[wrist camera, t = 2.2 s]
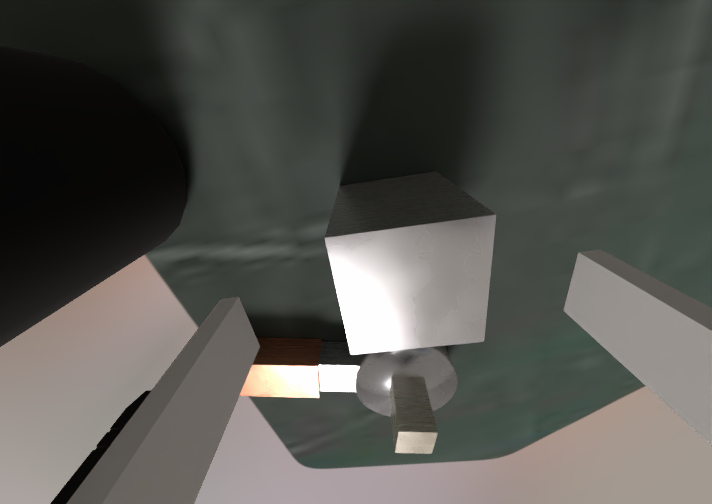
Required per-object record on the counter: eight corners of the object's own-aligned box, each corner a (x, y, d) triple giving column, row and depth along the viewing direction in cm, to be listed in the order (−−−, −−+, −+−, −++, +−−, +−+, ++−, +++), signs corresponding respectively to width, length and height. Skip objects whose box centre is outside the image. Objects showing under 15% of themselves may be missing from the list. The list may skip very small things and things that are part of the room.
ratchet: (454, 323, 22) (492, 407, 15) (437, 386, 25) (463, 474, 19) (236, 318, 22) (186, 399, 15) (251, 382, 25) (216, 468, 19)
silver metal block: (339, 185, 17) (324, 237, 9) (435, 171, 16) (496, 214, 9) (354, 266, 19) (351, 354, 12) (436, 256, 19) (483, 341, 12)
